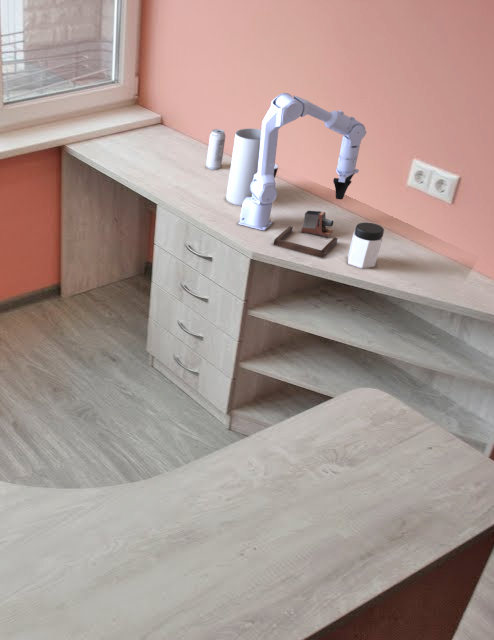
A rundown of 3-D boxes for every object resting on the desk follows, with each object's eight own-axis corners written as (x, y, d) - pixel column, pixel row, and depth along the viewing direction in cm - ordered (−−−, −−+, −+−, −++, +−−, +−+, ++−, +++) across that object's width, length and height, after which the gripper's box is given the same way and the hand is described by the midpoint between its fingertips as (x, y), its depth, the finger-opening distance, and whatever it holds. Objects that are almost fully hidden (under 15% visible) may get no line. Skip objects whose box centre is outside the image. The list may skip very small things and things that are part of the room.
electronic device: (328, 238, 268) (333, 218, 264) (300, 232, 273) (304, 211, 269) (332, 234, 271) (337, 213, 267) (304, 228, 276) (308, 207, 272)
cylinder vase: (224, 205, 293) (234, 138, 279) (226, 192, 303) (236, 127, 289) (259, 208, 290) (271, 141, 276) (260, 195, 300) (272, 130, 286)
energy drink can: (213, 163, 328) (218, 127, 320) (224, 168, 324) (229, 131, 316) (202, 166, 326) (207, 130, 317) (213, 171, 321) (218, 134, 313)
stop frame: (273, 244, 265) (274, 239, 264) (288, 231, 274) (289, 225, 272) (322, 258, 256) (323, 252, 255) (336, 243, 265) (338, 238, 264)
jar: (355, 269, 249) (365, 234, 243) (341, 258, 256) (349, 223, 249) (381, 266, 251) (391, 231, 244) (365, 255, 258) (375, 220, 251)
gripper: (357, 165, 260) (350, 204, 268) (364, 150, 271) (356, 188, 278) (335, 162, 263) (328, 201, 271) (342, 148, 274) (335, 185, 281)
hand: (341, 194), depth 275 cm, fingers open, 7 cm apart
